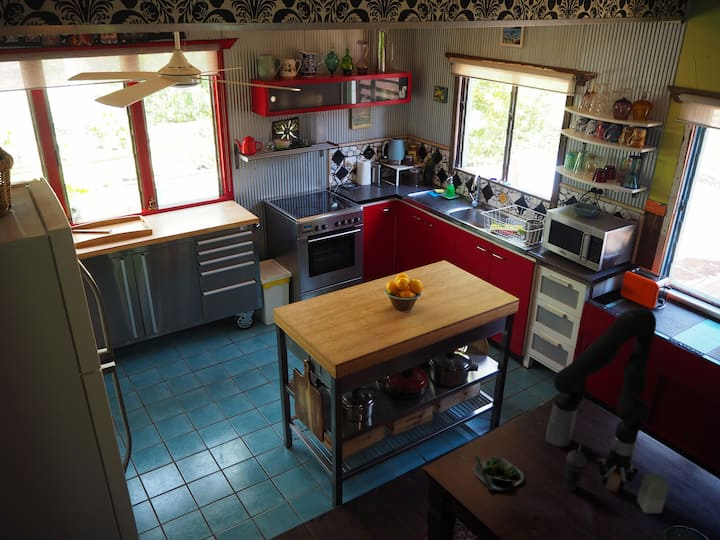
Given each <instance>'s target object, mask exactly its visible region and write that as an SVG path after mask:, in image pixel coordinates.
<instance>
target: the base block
mask: <svg viewBox="0 0 720 540" xmlns="http://www.w3.org/2000/svg"><path fill="white" fill-rule="evenodd" d="M636 502H637V504H638V505H639V507H640V508H641V509H642V511H643V512H644V514H661V513H662V512H663V508H664V505H665V502H666V500H649V499H648V498H647V496H646V495H645V493H644V492H643V490H642V489H641V487H639V491H638V495H637V499H636Z"/></svg>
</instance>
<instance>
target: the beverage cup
mask: <svg viewBox="0 0 720 540" xmlns="http://www.w3.org/2000/svg"><path fill="white" fill-rule="evenodd" d="M581 447H582V443H580V444H579V446H578V449H574V450H570V452H568V454H567V455H566V456H565V469H564V477H563V487H564V488H565V489H566V490H568V491H571V492H572V491H576V490H577V488H578V486H579V483H580V480H581V478H582V475H583V472H584V470H586V469H585V468H586V467H587V456H586V455H585V454H584V453H583V452H582V451H581Z"/></svg>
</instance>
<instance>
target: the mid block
mask: <svg viewBox="0 0 720 540" xmlns="http://www.w3.org/2000/svg"><path fill="white" fill-rule="evenodd" d="M670 487H671V486H670V484H669V483H668V482H667V480H666V479H665V477H663V476H662V474H661V473H660V474H658V473H657V474H656V473H655V474H654V473H653V474H652V473H651V474H650V473H645V474H644V475H643V478H642V482H641V485H640V488H641V489H642V490H643V492H644V493H645V495H646V496H647V498H648V499H649V500H665V501H666V499H667V496H668V493H669V490H670Z"/></svg>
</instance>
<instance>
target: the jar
mask: <svg viewBox="0 0 720 540" xmlns="http://www.w3.org/2000/svg"><path fill="white" fill-rule="evenodd" d="M621 479H622V475H621V473H618V472H612V473H611V474H610V475H609V476H608V479H607V483H606V485H604V487H605V488H606V490H608V491H610V492H614V493H617V492H618V491H619V486H620V482H621Z"/></svg>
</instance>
